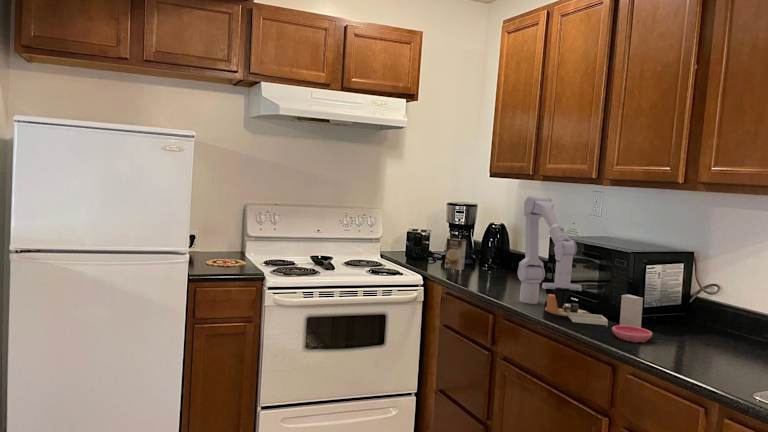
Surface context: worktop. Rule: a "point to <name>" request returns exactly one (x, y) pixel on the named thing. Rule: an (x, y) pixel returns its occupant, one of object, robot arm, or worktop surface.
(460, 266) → the coffee box
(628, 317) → the skincare box
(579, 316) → the tray
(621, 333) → the pink bowl
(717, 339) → the worktop surface
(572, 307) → the dark grey cylinder
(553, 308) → the block
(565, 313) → the crank plate
